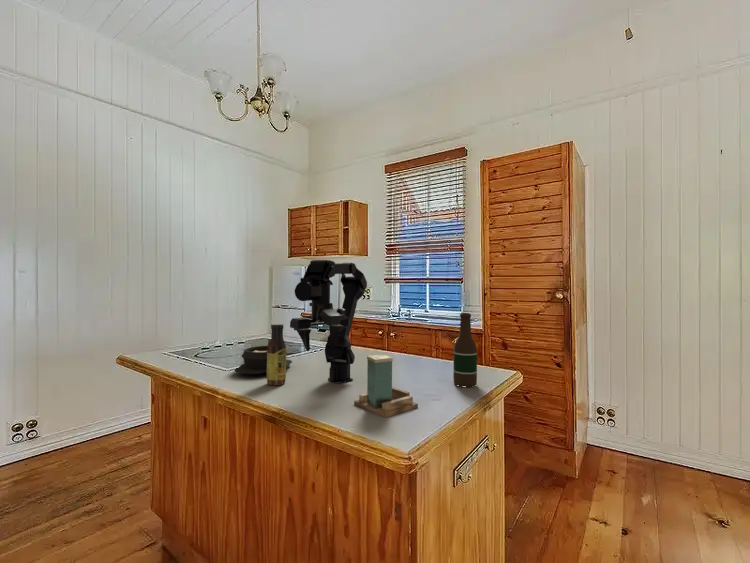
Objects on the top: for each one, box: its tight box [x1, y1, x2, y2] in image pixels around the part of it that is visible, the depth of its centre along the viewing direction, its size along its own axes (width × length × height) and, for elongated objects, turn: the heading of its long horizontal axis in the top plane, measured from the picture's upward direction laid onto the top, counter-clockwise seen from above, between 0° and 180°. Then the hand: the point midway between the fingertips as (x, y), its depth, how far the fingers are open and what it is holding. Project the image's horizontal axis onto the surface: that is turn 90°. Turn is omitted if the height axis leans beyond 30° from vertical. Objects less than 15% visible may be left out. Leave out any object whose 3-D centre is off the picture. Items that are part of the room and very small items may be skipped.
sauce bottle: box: [266, 323, 287, 386], centre depth 127 cm, size 7×6×20 cm
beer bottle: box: [452, 312, 478, 388], centre depth 127 cm, size 8×8×24 cm
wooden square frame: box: [353, 386, 419, 419], centre depth 105 cm, size 12×13×4 cm
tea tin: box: [366, 354, 394, 409], centre depth 103 cm, size 5×5×13 cm
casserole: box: [233, 345, 293, 375], centre depth 146 cm, size 25×19×8 cm
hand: (320, 349), depth 120 cm, fingers open, 9 cm apart
